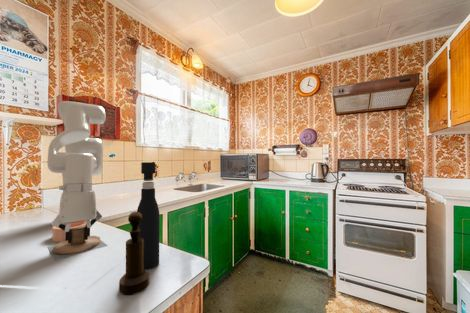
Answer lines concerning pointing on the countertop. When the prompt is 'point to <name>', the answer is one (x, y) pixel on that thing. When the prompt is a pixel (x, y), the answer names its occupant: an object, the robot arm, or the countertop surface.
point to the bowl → (61, 234)
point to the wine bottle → (149, 218)
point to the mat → (57, 257)
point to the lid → (76, 243)
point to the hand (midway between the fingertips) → (77, 239)
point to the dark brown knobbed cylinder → (134, 260)
